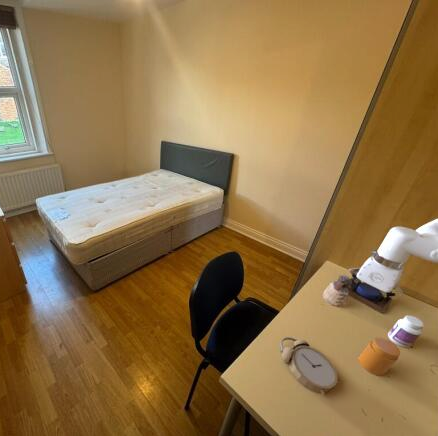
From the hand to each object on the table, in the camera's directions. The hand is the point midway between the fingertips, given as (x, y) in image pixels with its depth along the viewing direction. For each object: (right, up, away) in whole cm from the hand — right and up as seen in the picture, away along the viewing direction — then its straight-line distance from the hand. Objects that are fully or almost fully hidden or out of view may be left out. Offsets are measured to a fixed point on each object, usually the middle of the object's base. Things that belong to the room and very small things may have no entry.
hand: (365, 294), depth 90 cm
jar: (-19, -14, -22) cm, 32 cm away
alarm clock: (-39, -14, -22) cm, 47 cm away
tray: (0, -1, 0) cm, 1 cm away
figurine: (-13, -2, -1) cm, 13 cm away
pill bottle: (-4, -10, -15) cm, 18 cm away
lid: (0, +3, -2) cm, 3 cm away
